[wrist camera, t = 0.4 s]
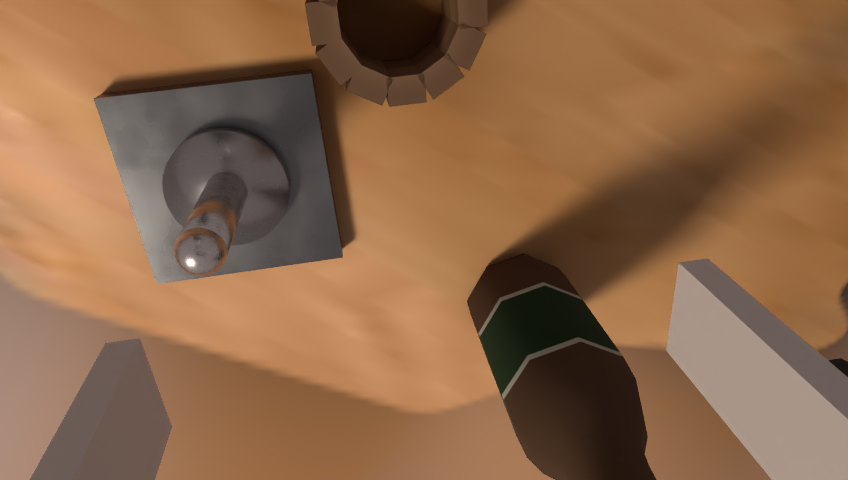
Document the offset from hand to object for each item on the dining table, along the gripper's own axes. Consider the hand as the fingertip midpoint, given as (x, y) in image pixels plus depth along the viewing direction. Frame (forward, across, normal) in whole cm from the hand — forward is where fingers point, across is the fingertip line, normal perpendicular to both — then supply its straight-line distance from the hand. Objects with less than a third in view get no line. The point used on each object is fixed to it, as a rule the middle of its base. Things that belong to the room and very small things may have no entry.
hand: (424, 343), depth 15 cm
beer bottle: (+24, +9, -16) cm, 30 cm away
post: (+24, -9, -4) cm, 26 cm away
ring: (+24, +2, +5) cm, 25 cm away
